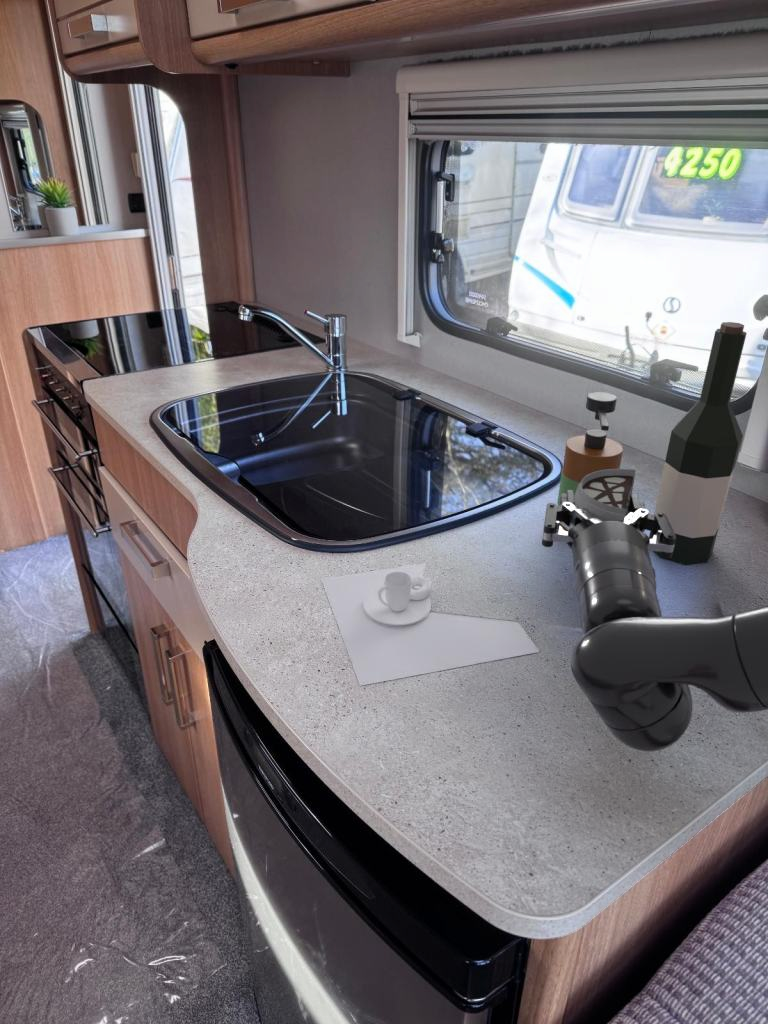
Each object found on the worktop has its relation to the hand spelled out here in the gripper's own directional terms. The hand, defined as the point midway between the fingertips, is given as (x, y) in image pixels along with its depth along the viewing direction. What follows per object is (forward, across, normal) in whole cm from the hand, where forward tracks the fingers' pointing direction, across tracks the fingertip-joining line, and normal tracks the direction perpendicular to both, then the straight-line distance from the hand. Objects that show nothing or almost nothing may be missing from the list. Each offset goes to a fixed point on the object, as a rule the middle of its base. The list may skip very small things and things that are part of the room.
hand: (600, 499), depth 86 cm
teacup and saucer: (-12, -19, -11) cm, 25 cm away
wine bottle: (+9, +12, -11) cm, 19 cm away
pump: (+8, 0, +6) cm, 10 cm away
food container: (-2, 0, -7) cm, 8 cm away
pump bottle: (+11, 0, -10) cm, 15 cm away
